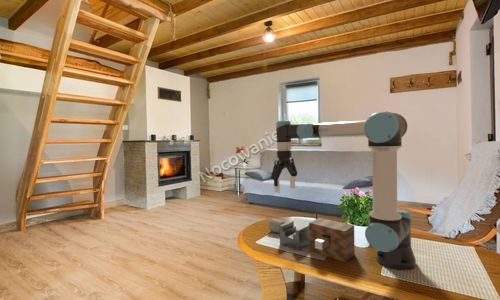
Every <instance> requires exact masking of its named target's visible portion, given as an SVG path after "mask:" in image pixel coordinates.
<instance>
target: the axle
mask: <svg viewBox="0 0 500 300" xmlns="http://www.w3.org/2000/svg"><path fill="white" fill-rule="evenodd" d="M329 245H331V236H328V235H323V236H322V237H320V238H318V239H317V240H315V248H317V249H320V250H323V249H325V248H326V247H328V246H329Z"/></svg>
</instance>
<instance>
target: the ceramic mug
mask: <svg viewBox="0 0 500 300" xmlns="http://www.w3.org/2000/svg"><path fill="white" fill-rule="evenodd" d="M268 222H269V223H268V230H269V232H273V233H277V234H280V227H279V225H282V224H284V223H286V222H285V221H283V220H281V219H276V218H271V219H270V220H269V221H268Z"/></svg>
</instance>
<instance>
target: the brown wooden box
mask: <svg viewBox="0 0 500 300" xmlns="http://www.w3.org/2000/svg"><path fill="white" fill-rule="evenodd" d="M308 225H309V243H310V245H309V252H312V253H314V254H319V255H321V256H324V257H328V258H330V259H334V260H336V261H340V262H343V263H347V262H348V261H349V260H350V259H351V258H352V257H353V256H355V225H354V224H349V223H345V222H339V221H336V220H331V219H328V218H323V217H317V219H316V218H315V220H312V221H309V222H308ZM323 235H328V236H331V245H329V246H328V247H326V248H325V249H323V250H320V249H317V248H315V240H317V239H318V238H320V237H322V236H323Z"/></svg>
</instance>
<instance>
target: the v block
mask: <svg viewBox="0 0 500 300" xmlns="http://www.w3.org/2000/svg"><path fill="white" fill-rule="evenodd" d="M294 222H295V221H293V220H289V221H287V222H285V223H284V224H282V225H279V227H280V233H279V244H280V245H281V246H285V247H286V248H287V247H288V248H290V249H293V250H297V251H301V250H303V249H305V248H306V247H308V246H310V243H309V224H304V225H302V226H300V227H298V228H297V225H295V223H294Z"/></svg>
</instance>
